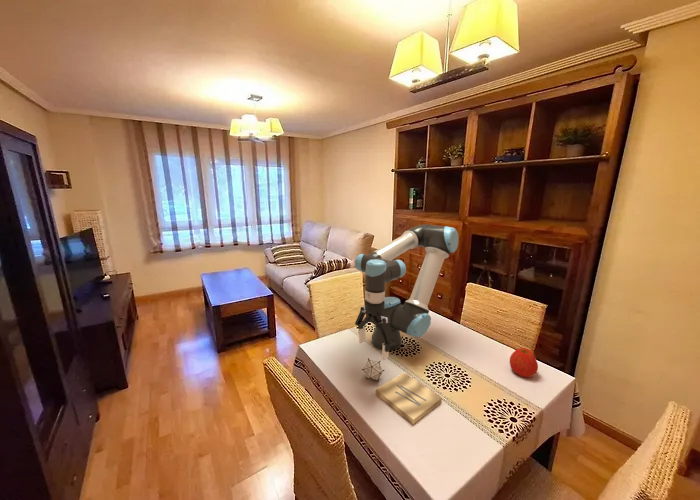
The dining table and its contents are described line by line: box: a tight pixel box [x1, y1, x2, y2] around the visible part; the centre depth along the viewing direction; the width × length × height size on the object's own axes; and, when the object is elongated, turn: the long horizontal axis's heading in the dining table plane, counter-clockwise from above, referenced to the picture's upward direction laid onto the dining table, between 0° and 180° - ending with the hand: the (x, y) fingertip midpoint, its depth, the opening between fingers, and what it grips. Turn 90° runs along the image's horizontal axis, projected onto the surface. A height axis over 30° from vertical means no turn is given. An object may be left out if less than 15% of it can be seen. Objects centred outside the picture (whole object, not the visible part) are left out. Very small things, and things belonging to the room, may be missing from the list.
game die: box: [361, 357, 385, 383], centre depth 114 cm, size 9×8×10 cm
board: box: [375, 372, 443, 425], centre depth 105 cm, size 18×16×2 cm
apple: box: [509, 347, 539, 378], centre depth 118 cm, size 10×10×10 cm
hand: (373, 350), depth 112 cm, fingers open, 13 cm apart
